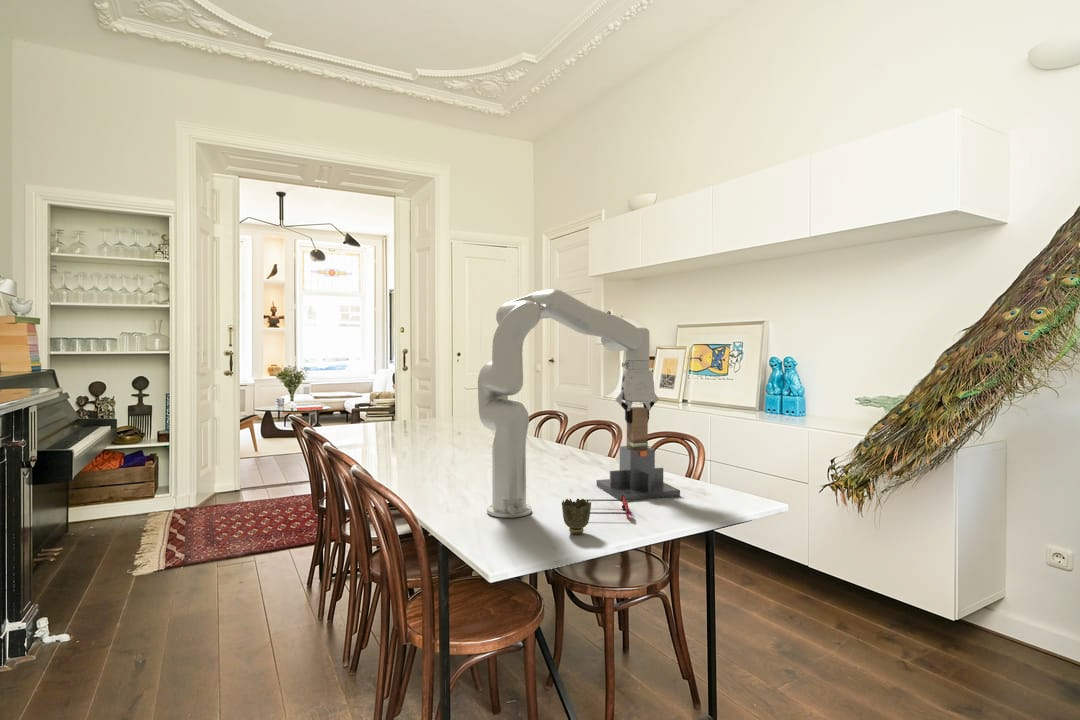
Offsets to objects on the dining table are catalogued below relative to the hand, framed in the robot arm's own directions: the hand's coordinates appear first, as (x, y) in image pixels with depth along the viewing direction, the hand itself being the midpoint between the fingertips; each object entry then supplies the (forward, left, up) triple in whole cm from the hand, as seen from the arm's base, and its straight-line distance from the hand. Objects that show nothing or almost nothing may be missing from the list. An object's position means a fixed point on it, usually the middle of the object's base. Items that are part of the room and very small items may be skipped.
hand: (637, 422), depth 193 cm
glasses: (-20, +21, -23) cm, 37 cm away
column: (0, 0, -14) cm, 14 cm away
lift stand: (0, 0, -22) cm, 22 cm away
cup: (-35, +33, -23) cm, 53 cm away
